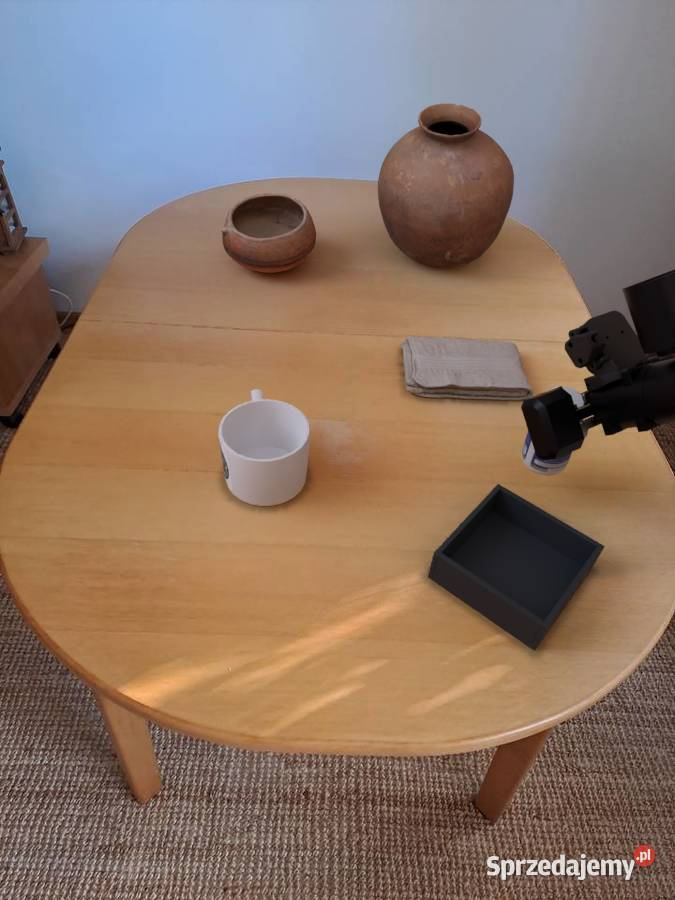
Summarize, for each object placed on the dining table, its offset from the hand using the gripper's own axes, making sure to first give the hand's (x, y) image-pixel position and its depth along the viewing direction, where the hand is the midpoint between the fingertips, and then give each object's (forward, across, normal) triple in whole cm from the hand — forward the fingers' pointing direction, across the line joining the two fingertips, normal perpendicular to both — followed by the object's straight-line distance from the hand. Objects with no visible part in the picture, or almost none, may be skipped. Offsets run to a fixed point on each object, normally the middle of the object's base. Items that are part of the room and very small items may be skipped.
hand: (549, 411), depth 75 cm
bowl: (+51, +6, -36) cm, 63 cm away
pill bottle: (+4, 0, +6) cm, 7 cm away
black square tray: (+2, +10, +15) cm, 19 cm away
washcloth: (+23, -6, -6) cm, 25 cm away
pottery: (+44, -23, -28) cm, 57 cm away
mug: (+20, +28, -4) cm, 35 cm away
